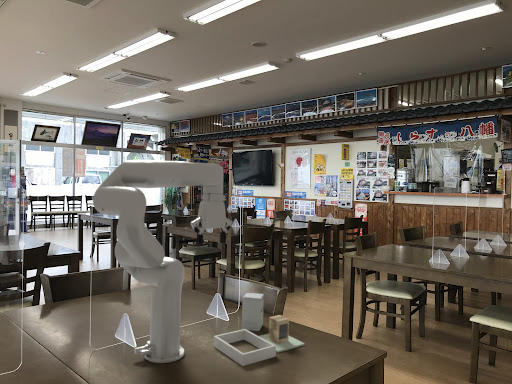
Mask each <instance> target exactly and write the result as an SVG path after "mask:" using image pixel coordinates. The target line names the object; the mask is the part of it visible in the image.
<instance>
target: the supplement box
mask: <svg viewBox="0 0 512 384" xmlns="http://www.w3.org/2000/svg"><path fill="white" fill-rule="evenodd" d="M264 297H265V295H264V293H257V292H246V293H245V294H244V295H243V297H242V302H241V303H242V307H241V309H242V310H241V330H243V329H246V330H248V331H253V332H260V331H261V329H262V326H263V325H264Z"/></svg>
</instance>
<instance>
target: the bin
mask: <svg viewBox="0 0 512 384" xmlns="http://www.w3.org/2000/svg"><path fill="white" fill-rule="evenodd" d="M259 336H260V335H257V334H255V333H254V332H251V330H246V329H239V330H235V331H230V332H226V333H222V334H217V335H213V347H214V348H216V349H217V350H219V351H220V352H222V353H223V354H224V355H226V356H227V357H229V358H230V359H231V360H233V361H234V362H236V363H237V364H239V365H240V366H242V367H244V366H248V365H252V364H254V363H258V362H261V361H265V360H268V359H272V358H275V357H276V355H277V352H276V346H275V345H273V344H272V343H270V342H268V341H266V340H264V339H263V338H261V337H259ZM243 340H244V341H246V342H248V343H249V344H251V345H252V346H254V347H256V348H258V349H255V350H251V351H247V352H242V351H241V350H239V349H238V348H236V347H235V346H234V345H231V344H232V343H237V342H241V341H243Z"/></svg>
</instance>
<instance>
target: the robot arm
mask: <svg viewBox="0 0 512 384" xmlns="http://www.w3.org/2000/svg"><path fill="white" fill-rule="evenodd" d="M196 186H200V187H201V186H202V201H200V203H199V206H198V207H199V208H198V213H197V218H196V219H194V220H192V221H191V222H190V226H191V229H192V230H193V231H194V232H195V234H196V243H197V245H199V246H203V245H204V234H203V233H204V231H205V230H218V229H219V230H220V233H219V243H220V244H224V245H225V244H226V241H227V233H228V232H229V230H230V229H231V226H232V224H233V220H231V219H229V218H227V216H226V205H225V202H224V200H225V199H226V195H225V194H224V167H223V166H222V165H220V164H218V163H213V162H212V163H209V162H207V163H206V162H190V161H189V162H188V161H180V160H179V161H178V160H158V159H157V160H155V159H154V160H153V159H137V160H136V159H134V160H133V159H132V160H131V159H129V160H125V161H123V162H122V163H120V164H119V165H118V166H117V167H116V168H115V169H114V170H113V171H112V172H111V173H110V174H109V175H108V176H107V177H106V179H105V180H104V181H102V183H101V184H100V185H99V186H98V187H97V189H96V190H95V192H94V194H93V197H92V204H93V207H94V209H95V210H96V211H97V212H98V213H99V214H102V215H106V216H114V217H115V216H116V217H118V221H117V225H116V226H117V227H116V231H115V232H116V239H117V242H116V244H115V247H114V256H115V258H116V259H115V260H116V261H117V263H118V264H119V265H120V266H121V267H122V268H123V270H125V271H126V272H127V273H128V274H129V275H130V276H131V277H133V278H134V280H136V281H138V282H139V283H141V284H145V285H151V286H154V287H155V290H154V292H153V294H152V295H151V299H150V304H149V305H150V311H149V313H150V314H149V315H150V316H149V319H150V320H149V321H150V322H149V340H148V341H146V344H144V345H143V346H138V347H134V348H133V349H134V350H133V353H134V355H138V354H140V355H141V356H144V359H145V360H146V361H148V362H151V363H155V364H166V363H167V364H168V363H173V362H176V361H178V360H180V359H181V358H183V357H184V355H185V349H184V347H182V346H181V343H180V342H181V341H180V339H181V310H182V309H181V308H182V307H181V306H182V305H181V304H182V302H181V301H182V300H181V299H182V289H183V283H184V280H185V279H184V278H185V273H186V272H185V271H186V270H185V266H184V264H183V263H182V262H181V260H179V259H176V258H174V257H168V256H166V253H165V250H164V248H163V246H162V244H161V243H160V242H159V241H158V240H157V238H156V237H155V236H154V235H153V234H152V232H150V230H149V229H148V228H147V226H146V225H145V224H146V223H145V213H146V209H147V198H146V195H145V193H144V192H143V191H142V190H141V189H142V188H143V189H157V188H185V187H196ZM139 188H141V189H139ZM226 223H227V224H226Z"/></svg>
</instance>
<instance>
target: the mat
mask: <svg viewBox="0 0 512 384" xmlns="http://www.w3.org/2000/svg"><path fill="white" fill-rule="evenodd" d="M258 336H259V337H261V338H263V339H264V340H266V341H268V342H270V343H272V344H273V345H275V346H276V353H281V352H285V351H288V350H291V349H295V348H296V349H297V348H299V347H302V346H305V342H303V341H301V340H299V339H297V338H294V337H293V336H290V335H289V337H288V341H287V342H284V343H280V344H276V343H274V342H272V341H271V340H269V333H265V334H261V335H258Z"/></svg>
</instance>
